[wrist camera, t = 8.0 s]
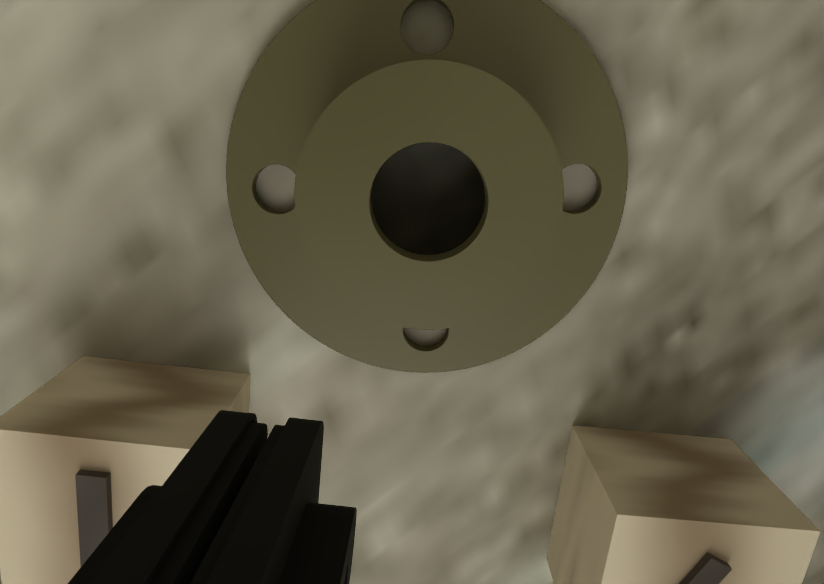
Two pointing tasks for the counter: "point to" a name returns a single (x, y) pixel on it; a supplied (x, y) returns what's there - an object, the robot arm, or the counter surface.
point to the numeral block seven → (672, 514)
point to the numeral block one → (96, 455)
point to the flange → (415, 123)
